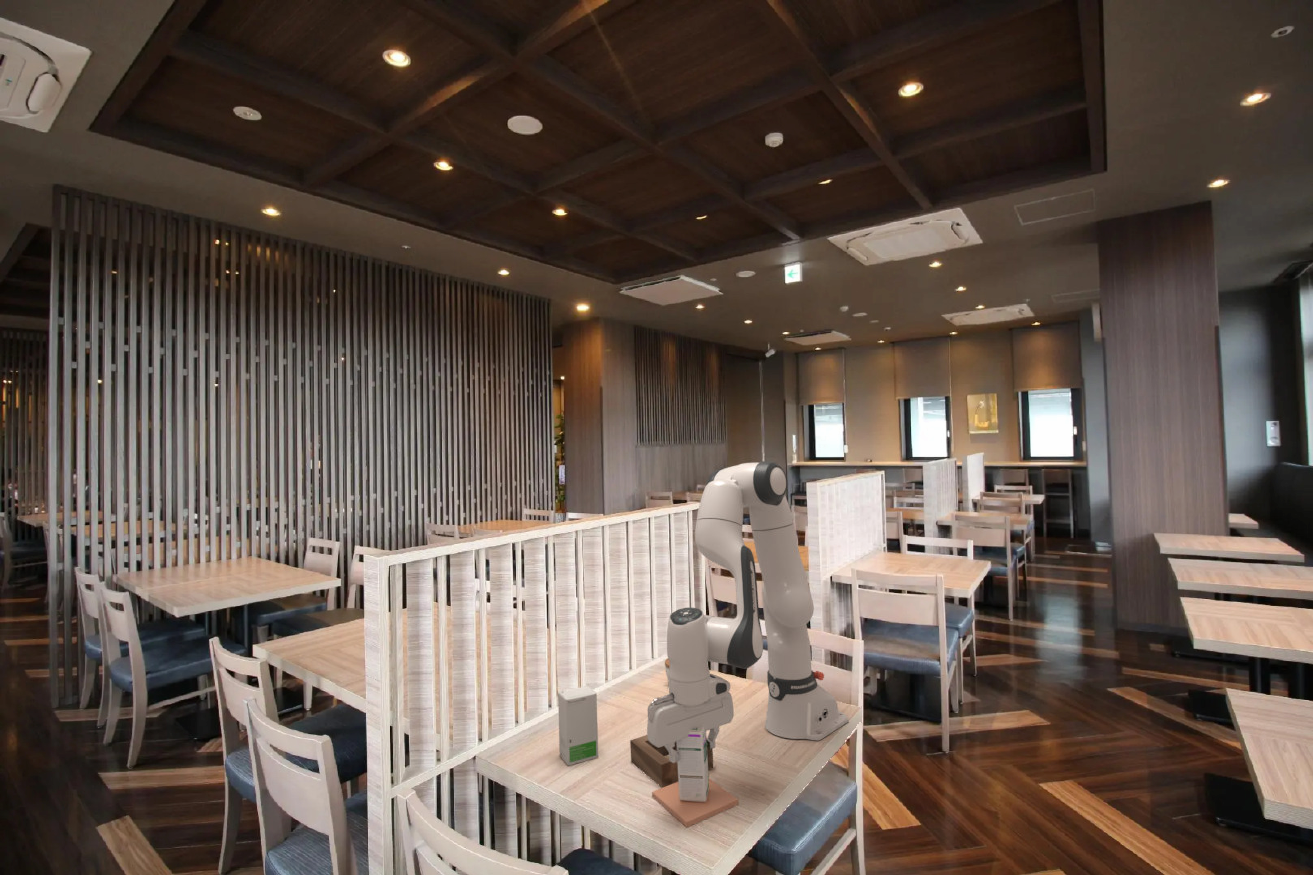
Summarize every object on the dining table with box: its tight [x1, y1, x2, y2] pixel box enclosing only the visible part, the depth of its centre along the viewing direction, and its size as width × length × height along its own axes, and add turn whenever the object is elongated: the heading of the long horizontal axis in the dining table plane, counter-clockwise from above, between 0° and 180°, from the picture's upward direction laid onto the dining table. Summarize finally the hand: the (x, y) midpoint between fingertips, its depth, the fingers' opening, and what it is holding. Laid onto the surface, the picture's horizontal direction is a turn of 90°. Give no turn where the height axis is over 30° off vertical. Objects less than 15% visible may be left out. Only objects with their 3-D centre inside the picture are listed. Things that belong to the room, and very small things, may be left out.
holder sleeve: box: [629, 734, 714, 788], centre depth 142 cm, size 14×14×5 cm
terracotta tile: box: [651, 778, 739, 828], centre depth 127 cm, size 13×13×1 cm
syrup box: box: [676, 727, 710, 802], centre depth 127 cm, size 6×6×14 cm
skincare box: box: [557, 685, 599, 766], centre depth 148 cm, size 8×7×16 cm
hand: (692, 754), depth 127 cm, fingers closed on syrup box, 8 cm apart
